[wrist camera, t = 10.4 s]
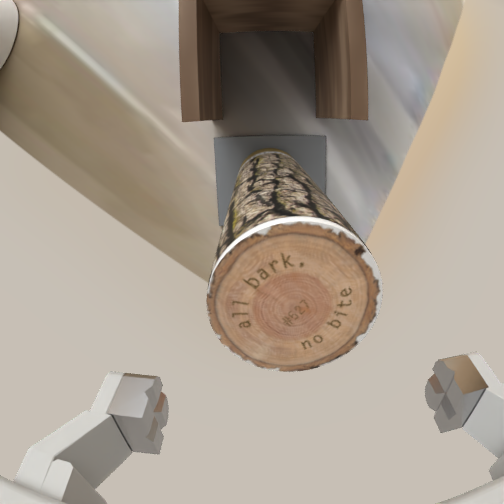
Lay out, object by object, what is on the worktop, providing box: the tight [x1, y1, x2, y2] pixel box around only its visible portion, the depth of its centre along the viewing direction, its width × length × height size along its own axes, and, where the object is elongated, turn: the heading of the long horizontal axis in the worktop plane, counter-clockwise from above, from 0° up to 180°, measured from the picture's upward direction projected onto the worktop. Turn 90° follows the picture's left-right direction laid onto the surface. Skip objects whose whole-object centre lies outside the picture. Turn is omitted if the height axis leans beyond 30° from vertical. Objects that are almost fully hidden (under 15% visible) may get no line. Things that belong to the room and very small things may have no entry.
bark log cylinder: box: [207, 148, 383, 372], centre depth 23 cm, size 7×7×25 cm
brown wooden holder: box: [179, 0, 368, 122], centre depth 24 cm, size 12×11×14 cm
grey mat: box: [214, 135, 326, 226], centre depth 35 cm, size 12×10×1 cm
